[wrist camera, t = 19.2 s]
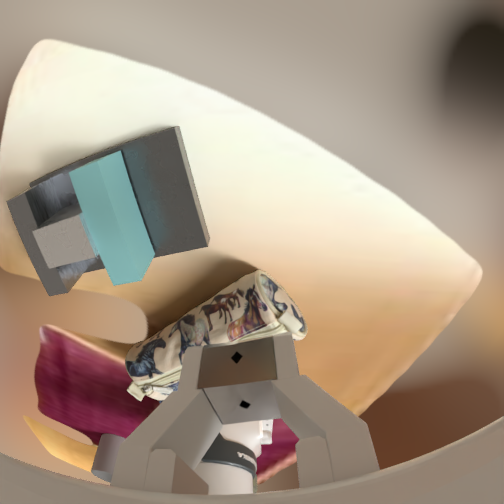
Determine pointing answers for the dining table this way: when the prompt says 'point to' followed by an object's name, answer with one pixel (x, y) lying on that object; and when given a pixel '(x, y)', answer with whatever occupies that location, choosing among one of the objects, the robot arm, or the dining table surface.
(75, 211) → the steel block
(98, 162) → the bar
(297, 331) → the pencil case
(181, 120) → the dining table surface
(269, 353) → the robot arm
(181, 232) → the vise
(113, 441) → the cup
